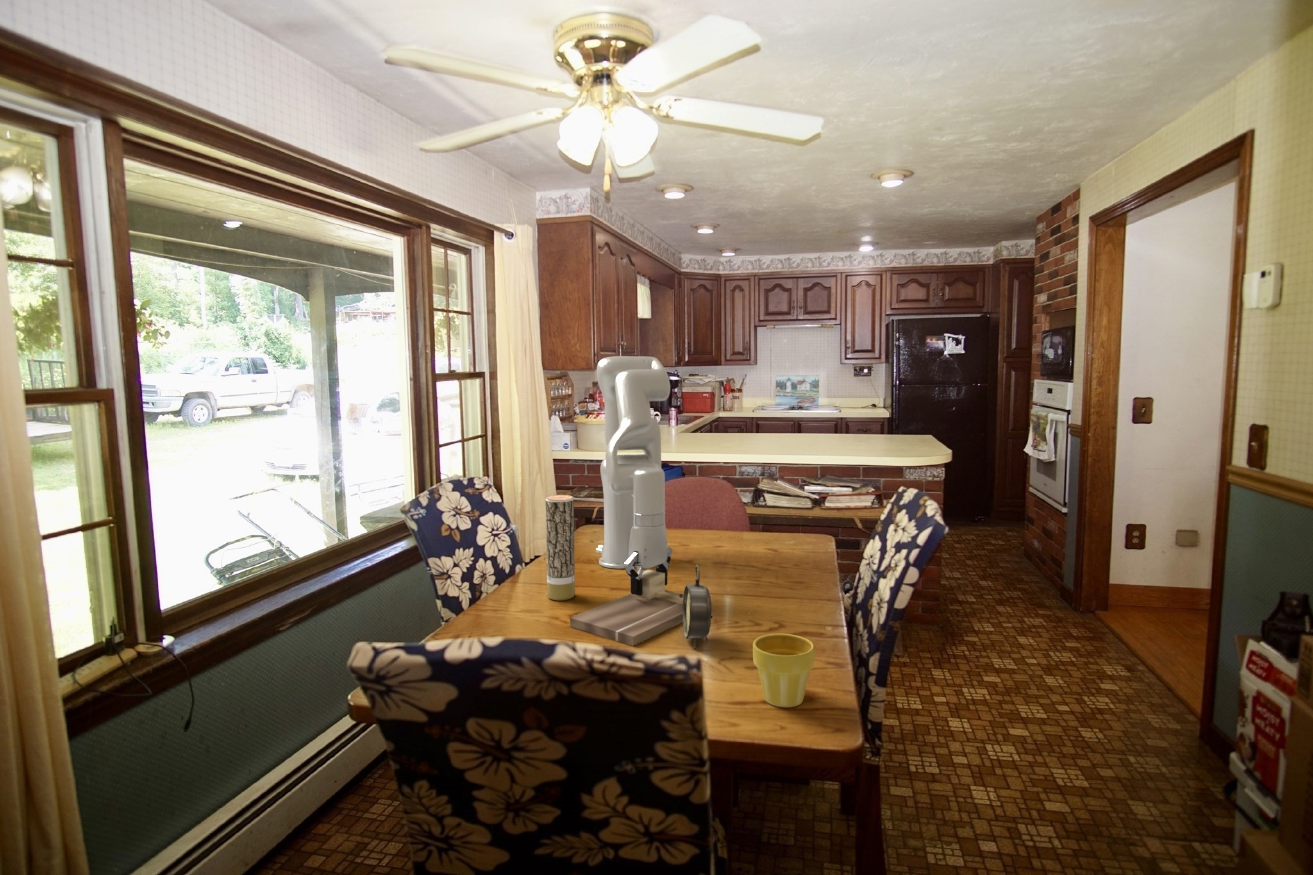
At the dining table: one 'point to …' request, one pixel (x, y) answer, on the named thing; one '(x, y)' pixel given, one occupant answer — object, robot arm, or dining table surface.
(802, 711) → the dining table surface
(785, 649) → the plant pot
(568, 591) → the paper tube
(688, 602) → the alarm clock
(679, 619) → the wooden cutting board
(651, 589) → the cream square mallet
